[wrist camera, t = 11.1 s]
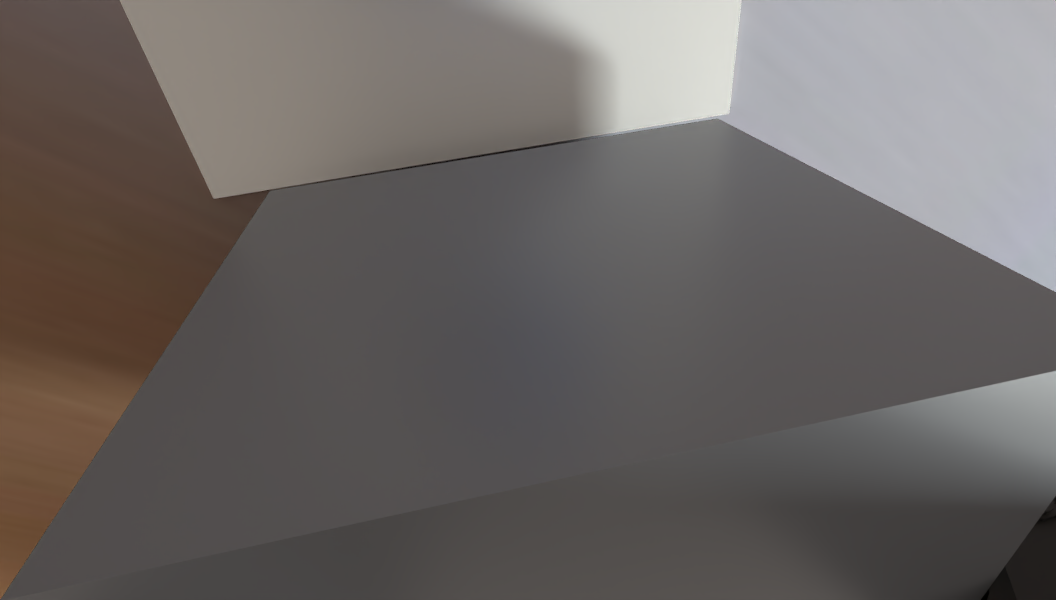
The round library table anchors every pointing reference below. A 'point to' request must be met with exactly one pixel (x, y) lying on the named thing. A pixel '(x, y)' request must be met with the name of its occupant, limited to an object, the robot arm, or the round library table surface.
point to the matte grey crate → (578, 395)
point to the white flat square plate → (422, 78)
